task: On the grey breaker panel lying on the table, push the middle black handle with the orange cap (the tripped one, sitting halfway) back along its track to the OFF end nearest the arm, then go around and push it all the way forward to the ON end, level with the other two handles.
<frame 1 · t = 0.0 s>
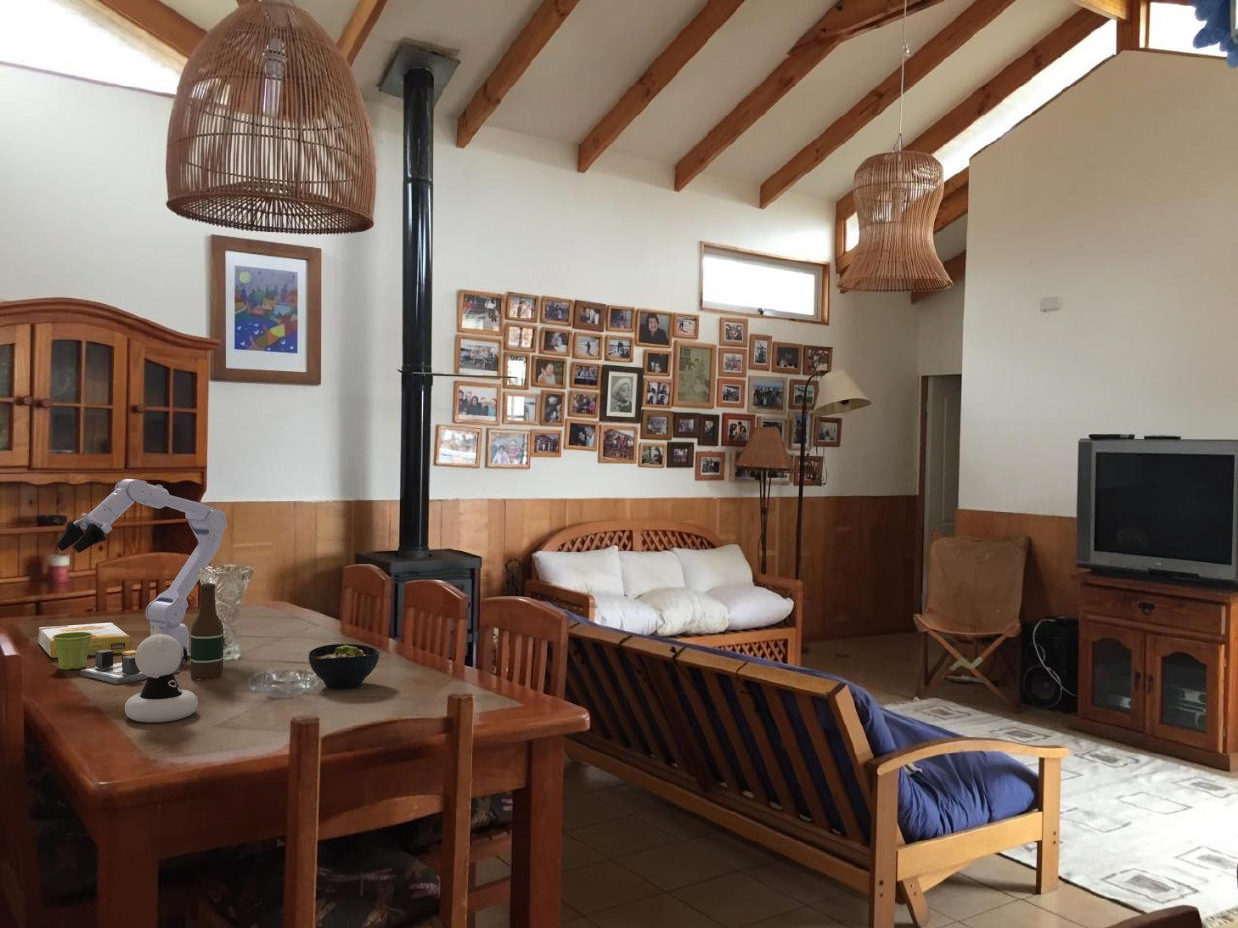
hand: (67, 549, 254), 32 cm above the table, tool tilted 50°, fingers open, 7 cm apart
plant pot: (72, 668, 263), on the table
decorative figurine: (161, 716, 217), on the table
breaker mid: (130, 659, 257), point 4 cm above the table, slide at 3.5 cm
beer bottle: (206, 677, 255), on the table
cereal box: (83, 649, 290), on the table
panel: (130, 673, 257), on the table
bowl: (343, 686, 249), on the table
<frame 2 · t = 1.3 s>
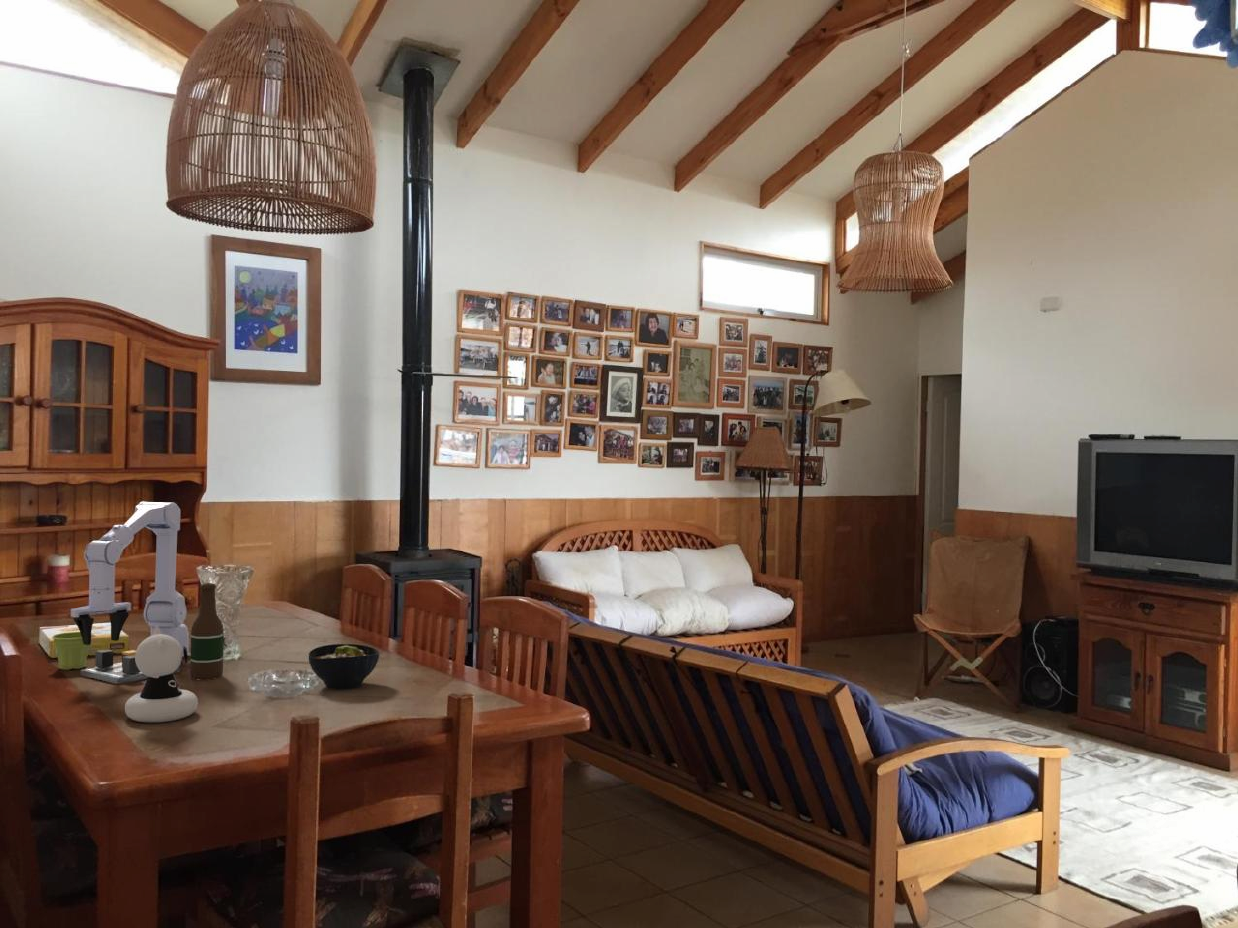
hand: (101, 642, 250), 9 cm above the table, tool pointing down, fingers open, 7 cm apart
nothing on the table moved.
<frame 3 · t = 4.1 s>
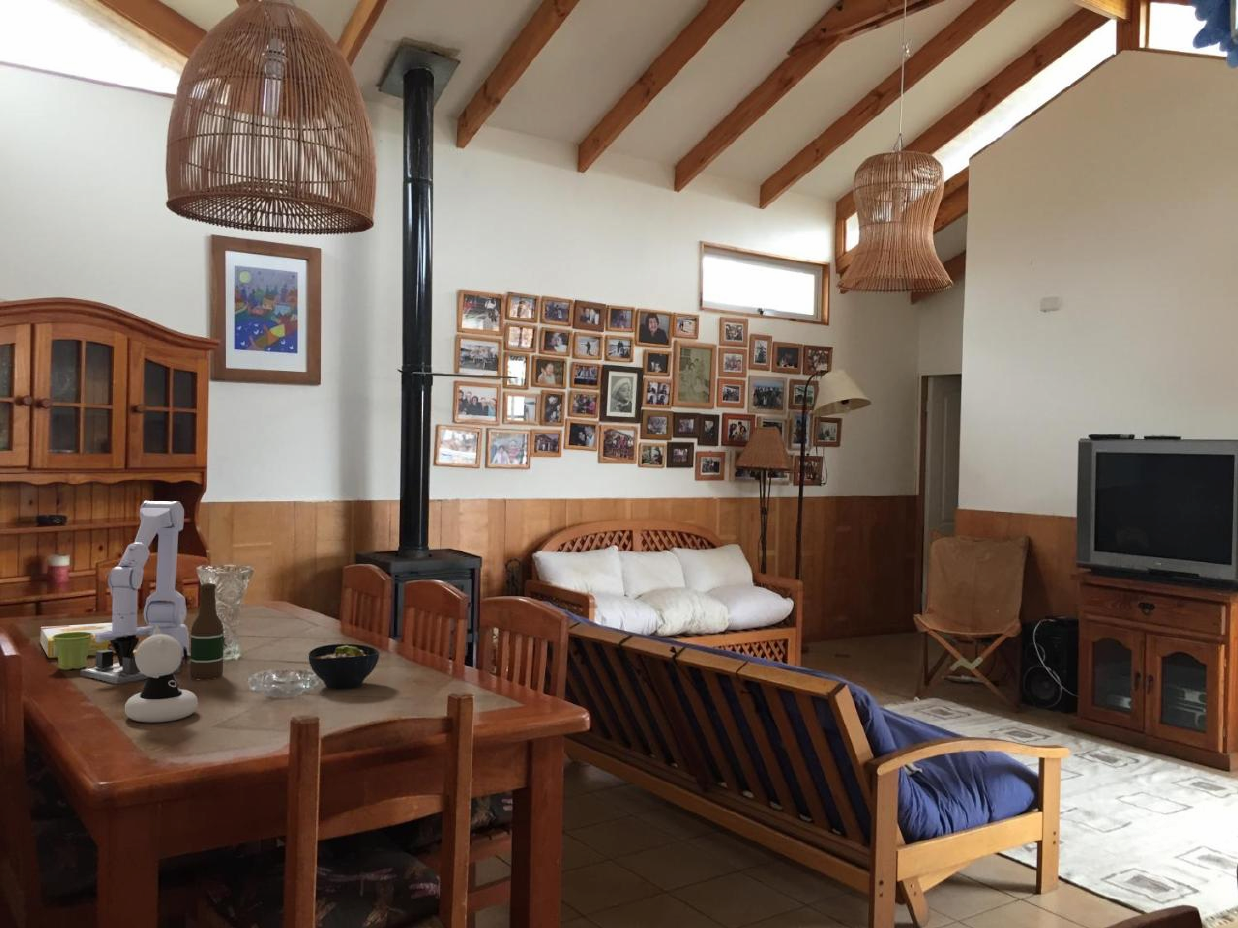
hand: (124, 665, 255), 2 cm above the table, tool pointing down, fingers closed
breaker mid: (135, 658, 258), point 4 cm above the table, slide at 2.1 cm, touching gripper
everything else where it was.
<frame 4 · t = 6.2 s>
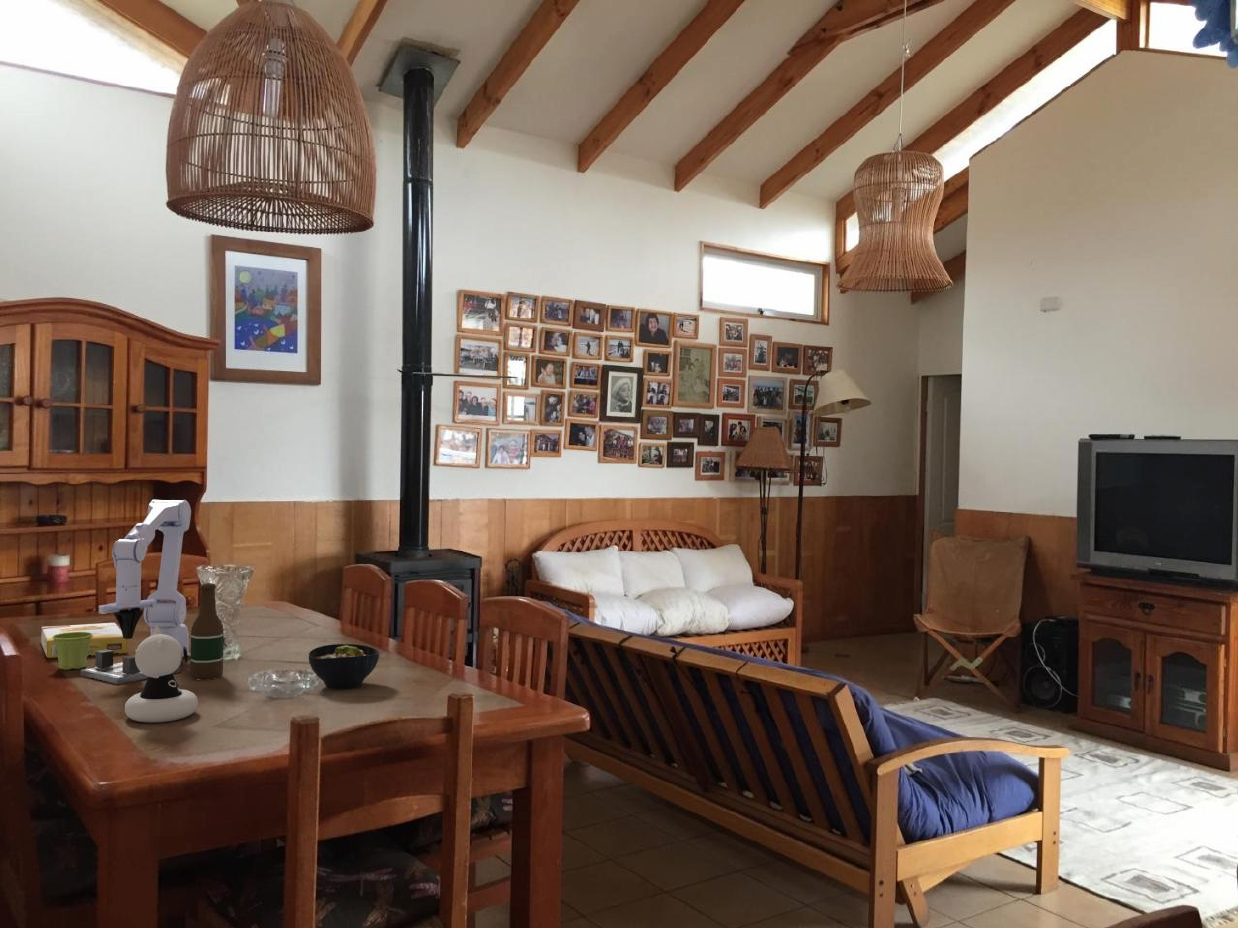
hand: (127, 638, 256), 9 cm above the table, tool pointing down, fingers closed
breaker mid: (143, 657, 260), point 4 cm above the table, slide at 0.0 cm
everything else where it was.
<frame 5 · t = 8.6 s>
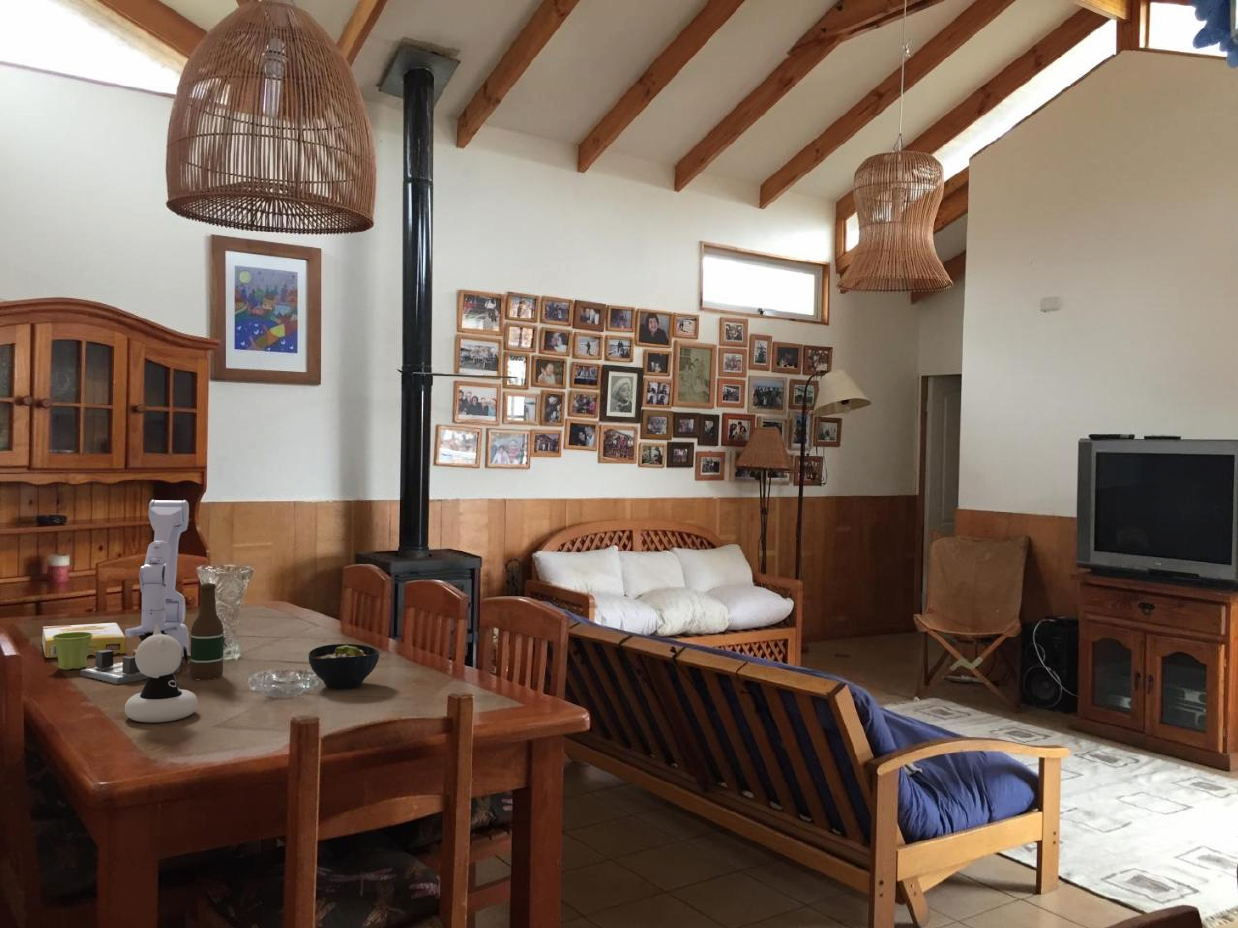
hand: (152, 660, 262), 2 cm above the table, tool pointing down, fingers closed
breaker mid: (141, 657, 259), point 4 cm above the table, slide at 0.5 cm, touching gripper
everything else where it was.
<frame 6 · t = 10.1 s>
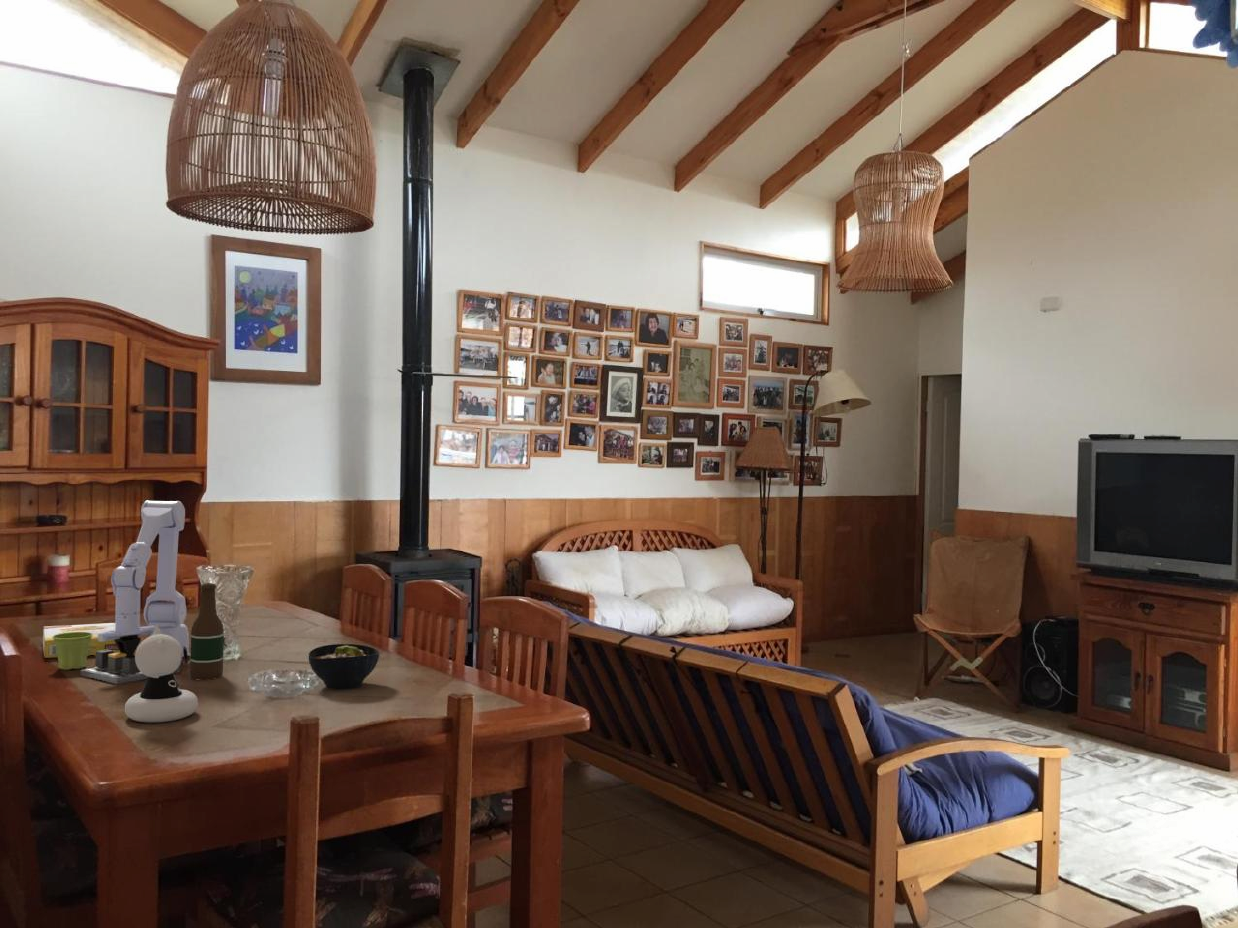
hand: (127, 665, 256), 2 cm above the table, tool pointing down, fingers closed
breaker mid: (117, 661, 253), point 4 cm above the table, slide at 7.2 cm, touching gripper
everything else where it was.
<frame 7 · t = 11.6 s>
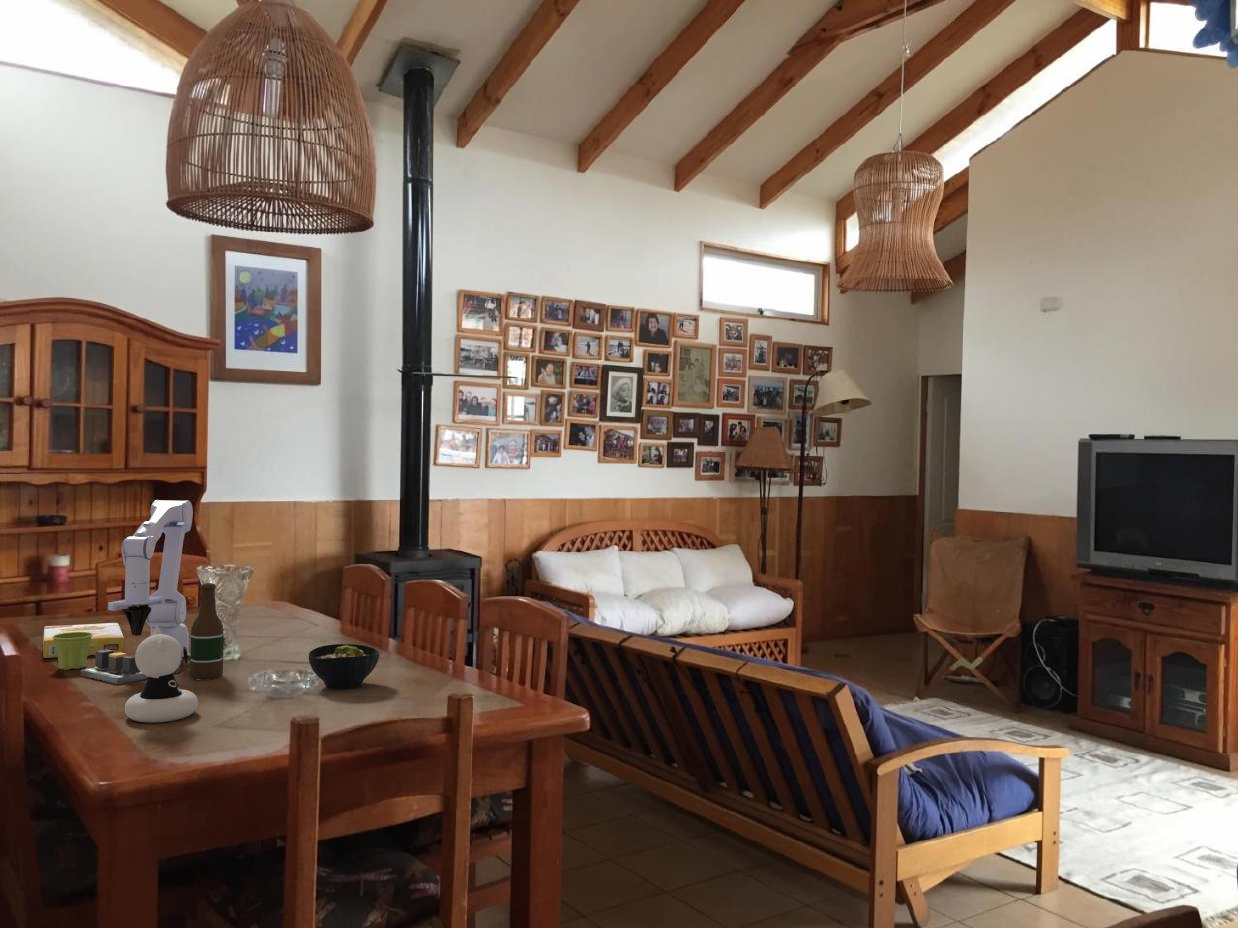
hand: (136, 634, 258), 10 cm above the table, tool pointing down, fingers closed
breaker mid: (117, 661, 254), point 4 cm above the table, slide at 7.0 cm
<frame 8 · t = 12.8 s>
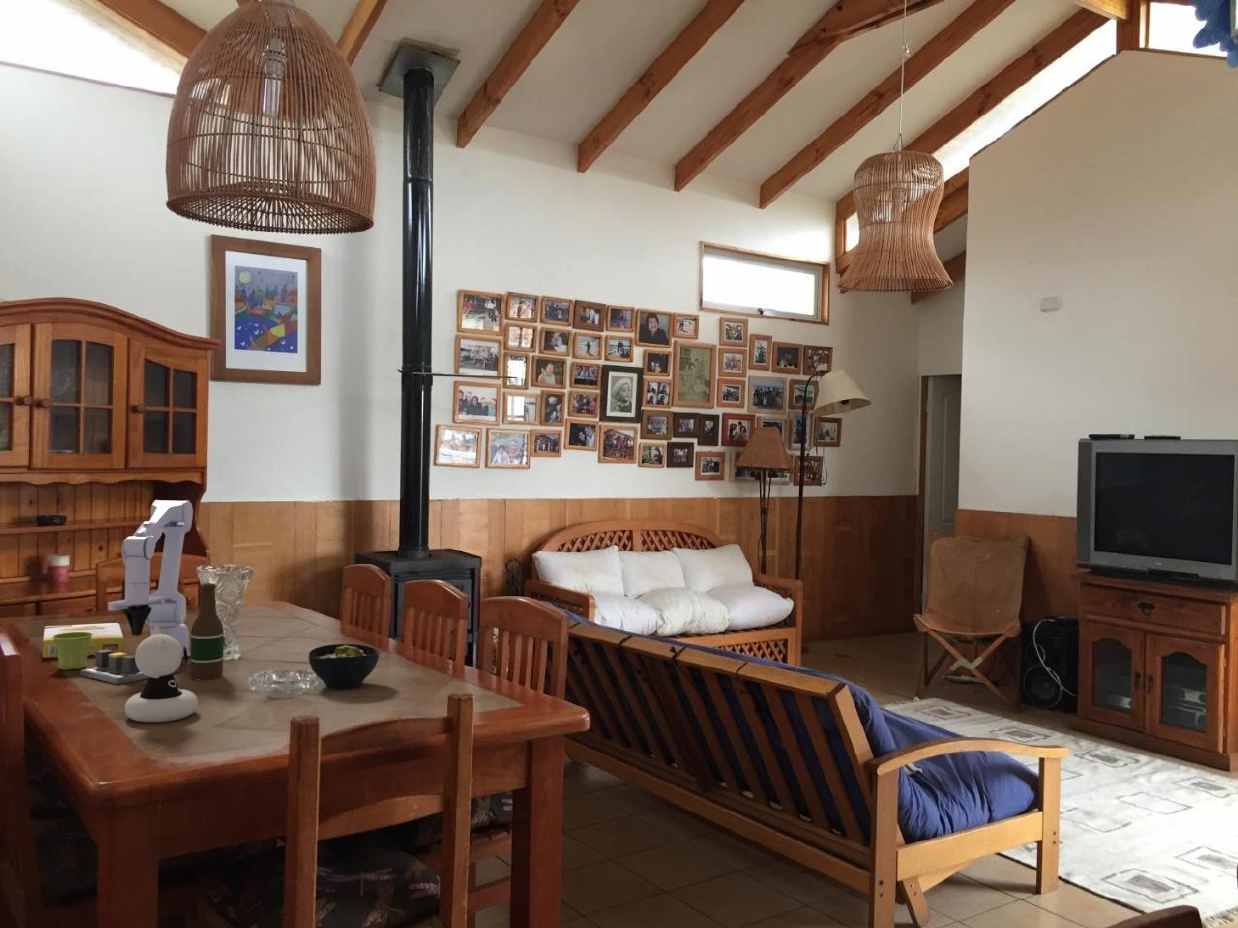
hand: (136, 634, 258), 10 cm above the table, tool pointing down, fingers closed
nothing on the table moved.
at the end: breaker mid slide at 7.0 cm; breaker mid touching nothing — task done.
